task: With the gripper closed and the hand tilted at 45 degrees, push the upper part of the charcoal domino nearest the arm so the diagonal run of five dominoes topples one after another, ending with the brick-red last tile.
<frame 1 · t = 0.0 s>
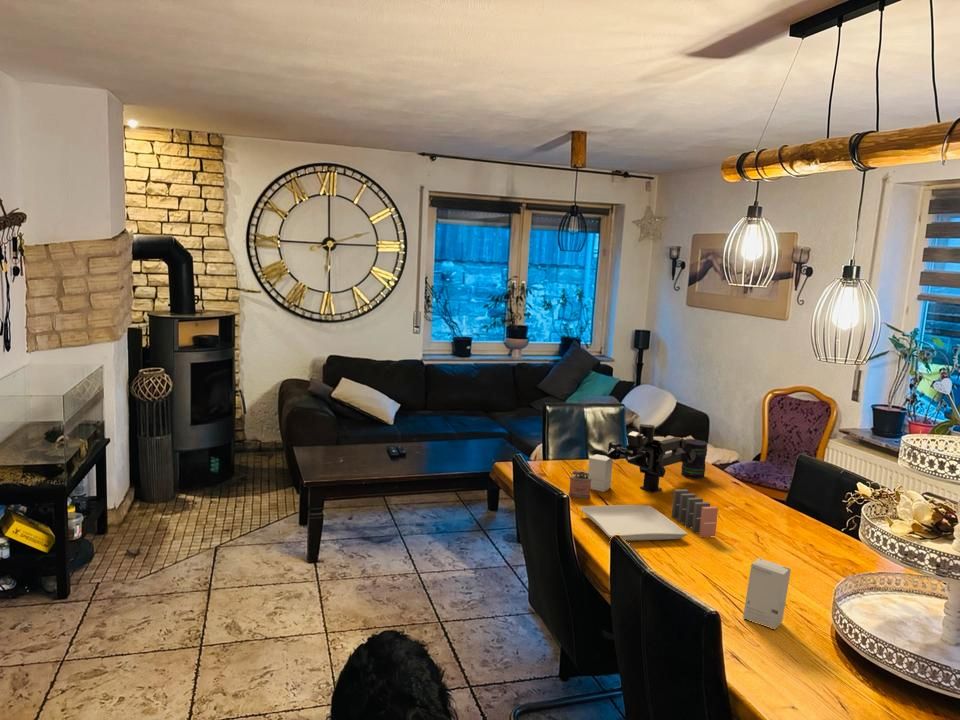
hand: (617, 458, 262), 17 cm above the table, tool horizontal, fingers open, 9 cm apart
domino 1: (678, 517, 250), on the table
supplement box: (598, 488, 279), on the table
domino 3: (692, 526, 241), on the table
lighter: (579, 497, 267), on the table
square plate: (630, 529, 237), on the table
domino 2: (685, 522, 245), on the table
domino 5: (707, 536, 232), on the table
skincare box: (763, 622, 176), on the table
storage jar: (692, 476, 304), on the table
domino 4: (699, 531, 237), on the table
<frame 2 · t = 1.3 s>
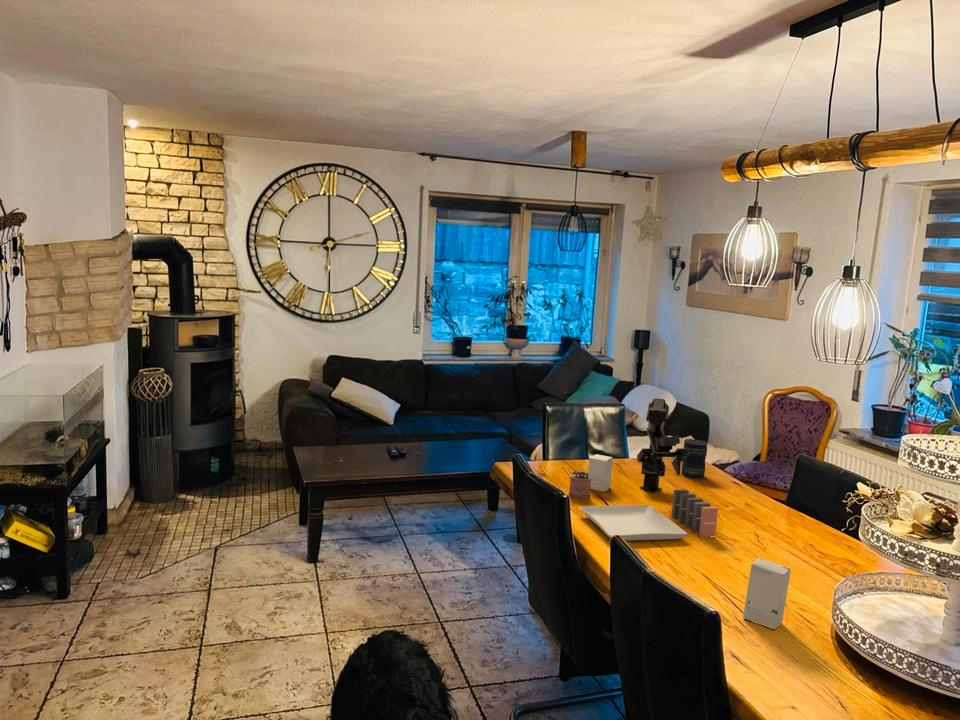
hand: (669, 475, 256), 13 cm above the table, tool tilted 45°, fingers open, 7 cm apart
nothing on the table moved.
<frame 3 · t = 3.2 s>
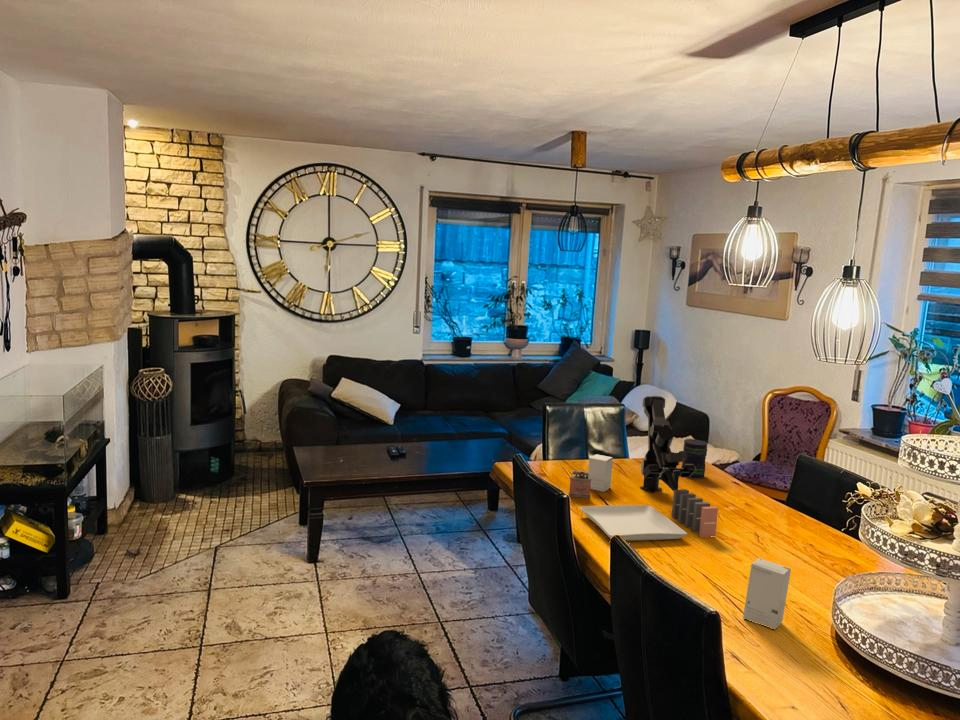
hand: (676, 492, 252), 8 cm above the table, tool tilted 45°, fingers closed
nothing on the table moved.
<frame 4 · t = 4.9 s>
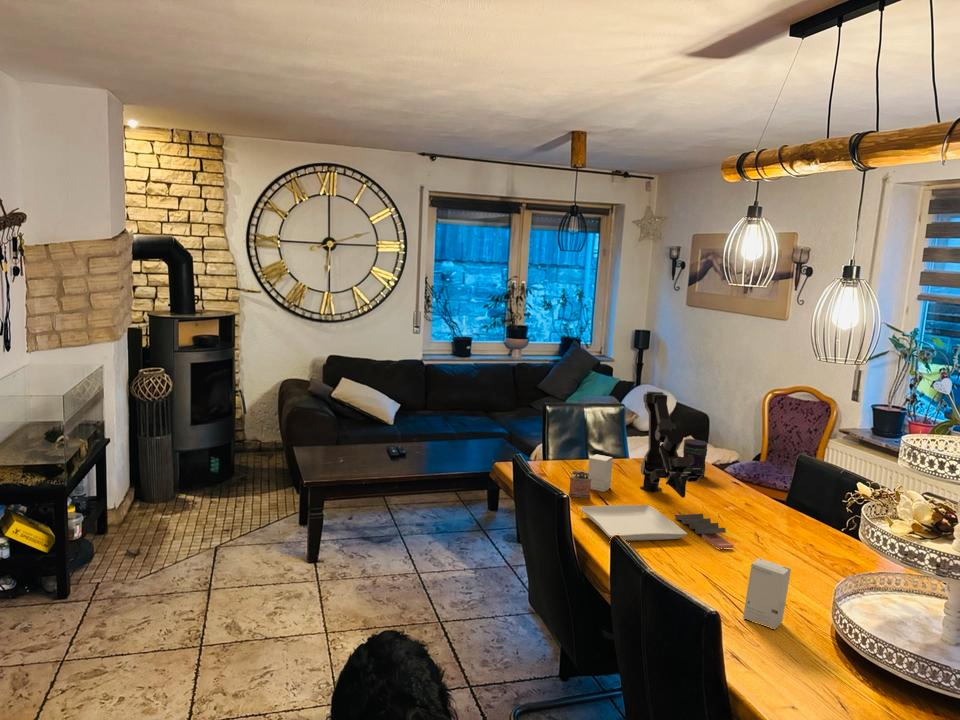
hand: (683, 497, 247), 8 cm above the table, tool tilted 45°, fingers closed
domino 1: (681, 517, 248), point 1 cm above the table, tilted 69°, touching domino 2
domino 3: (695, 526, 239), point 1 cm above the table, tilted 67°, touching domino 2, domino 4
domino 2: (688, 521, 244), point 1 cm above the table, tilted 68°, touching domino 1, domino 3
domino 5: (708, 535, 231), point 1 cm above the table, tilted 90°, touching domino 4
domino 4: (702, 531, 235), point 1 cm above the table, tilted 68°, touching domino 3, domino 5
everything else where it was.
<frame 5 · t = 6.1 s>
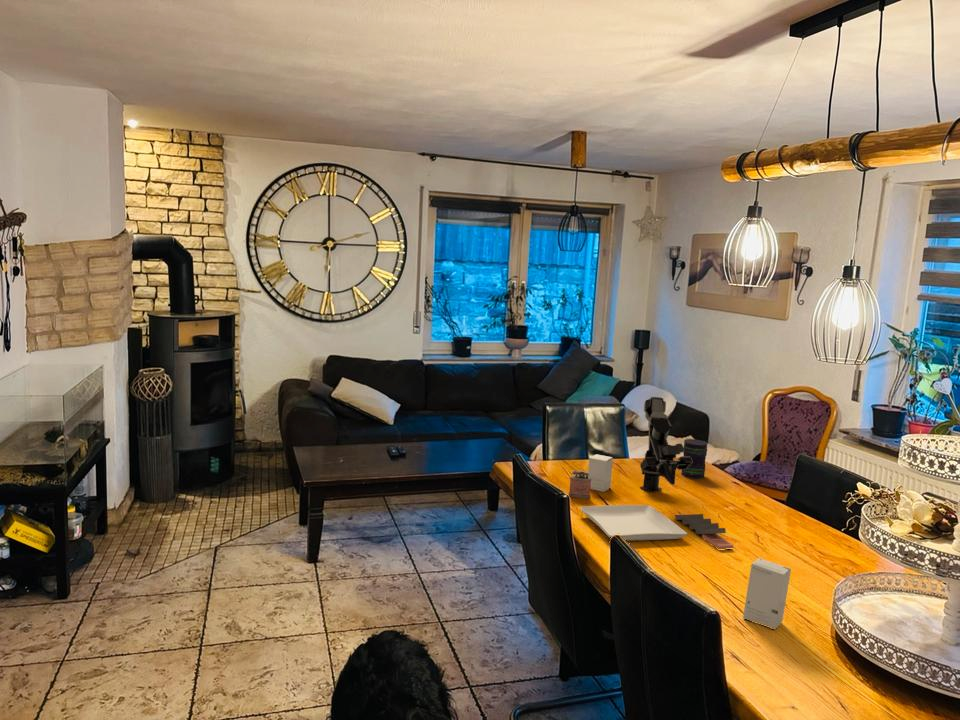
hand: (673, 484, 254), 10 cm above the table, tool tilted 45°, fingers closed
domino 3: (696, 526, 239), point 1 cm above the table, tilted 67°, touching domino 2, domino 4
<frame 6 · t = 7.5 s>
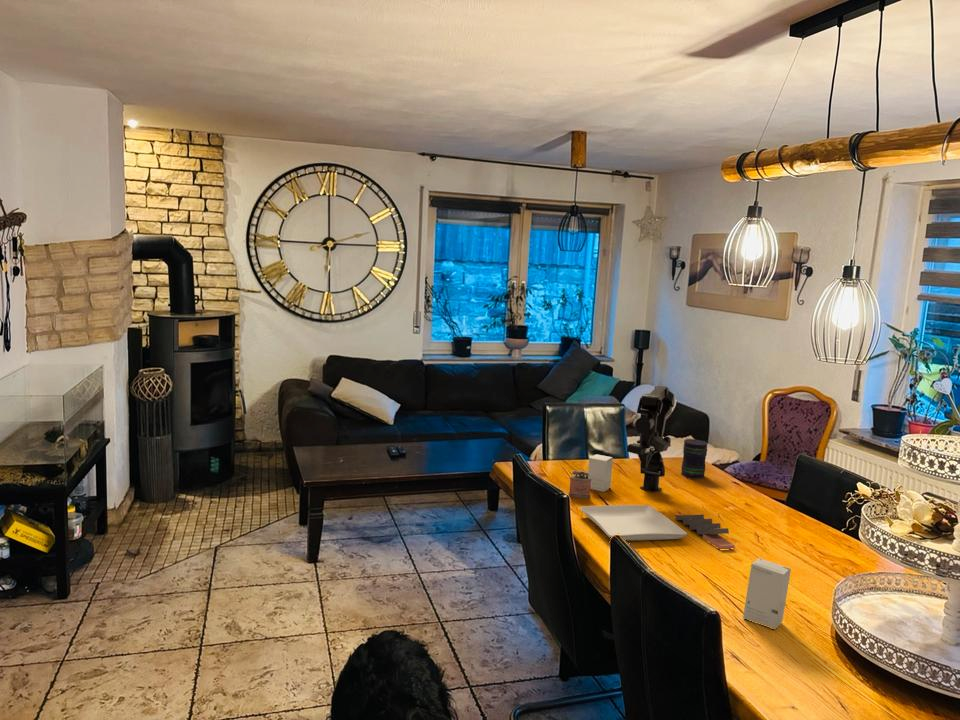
hand: (644, 468, 267), 12 cm above the table, tool pointing down, fingers closed
domino 3: (695, 526, 239), point 1 cm above the table, tilted 68°, touching domino 2, domino 4
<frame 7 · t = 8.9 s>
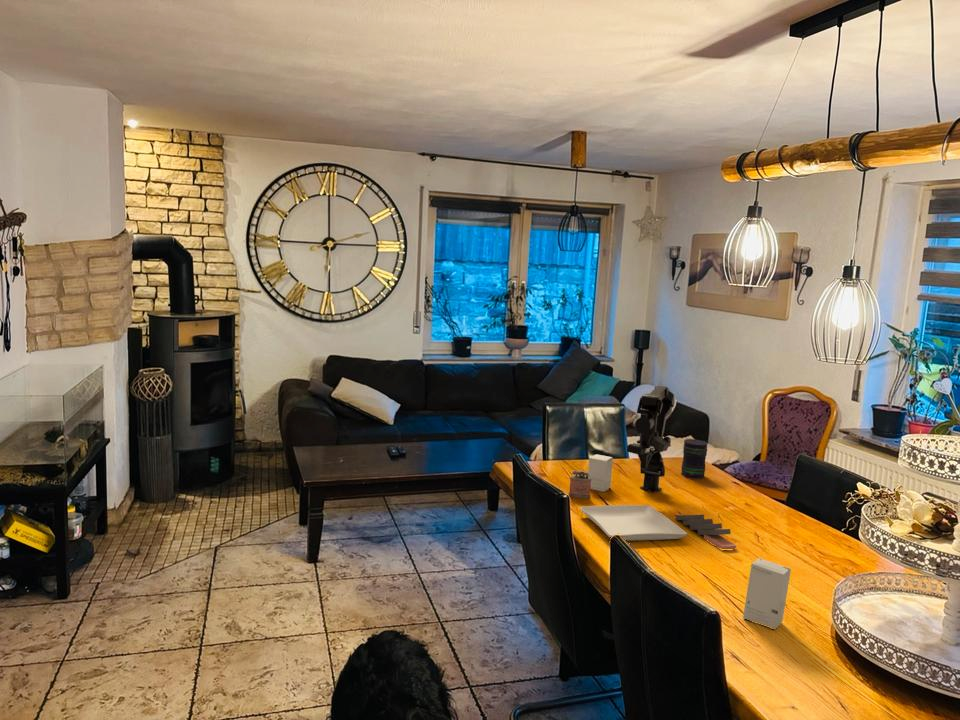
hand: (644, 468, 267), 12 cm above the table, tool pointing down, fingers closed
domino 5: (710, 536, 231), point 1 cm above the table, tilted 89°
domino 4: (703, 531, 235), point 1 cm above the table, tilted 70°, touching domino 3
everything else where it was.
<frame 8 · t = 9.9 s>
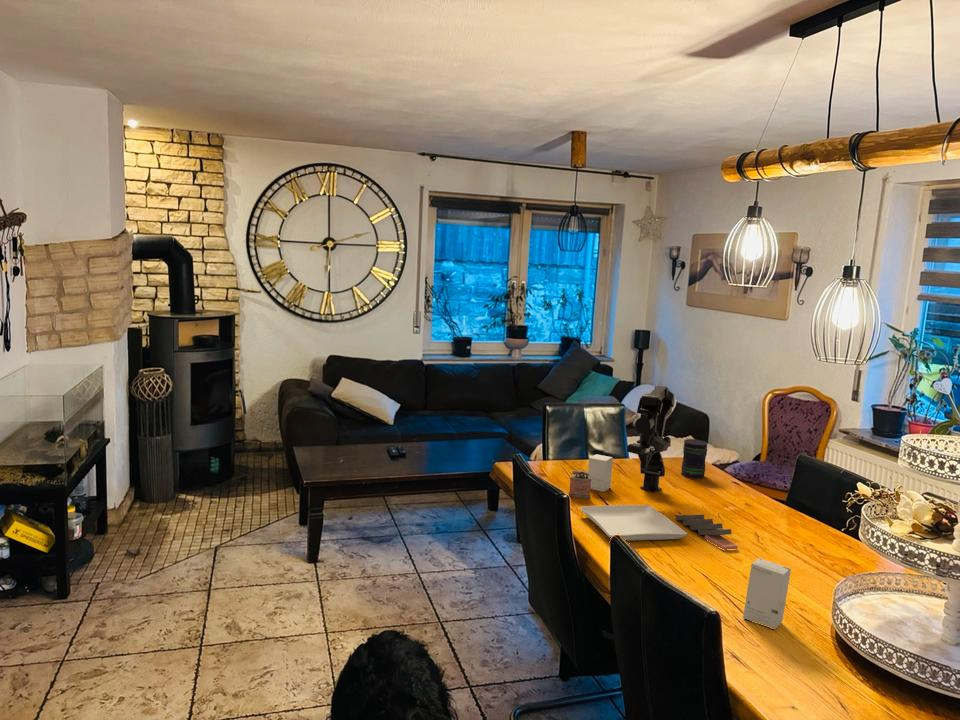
hand: (644, 468, 267), 12 cm above the table, tool pointing down, fingers closed
at the end: domino 5 tilted 89°; domino 1 tilted 69° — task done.
